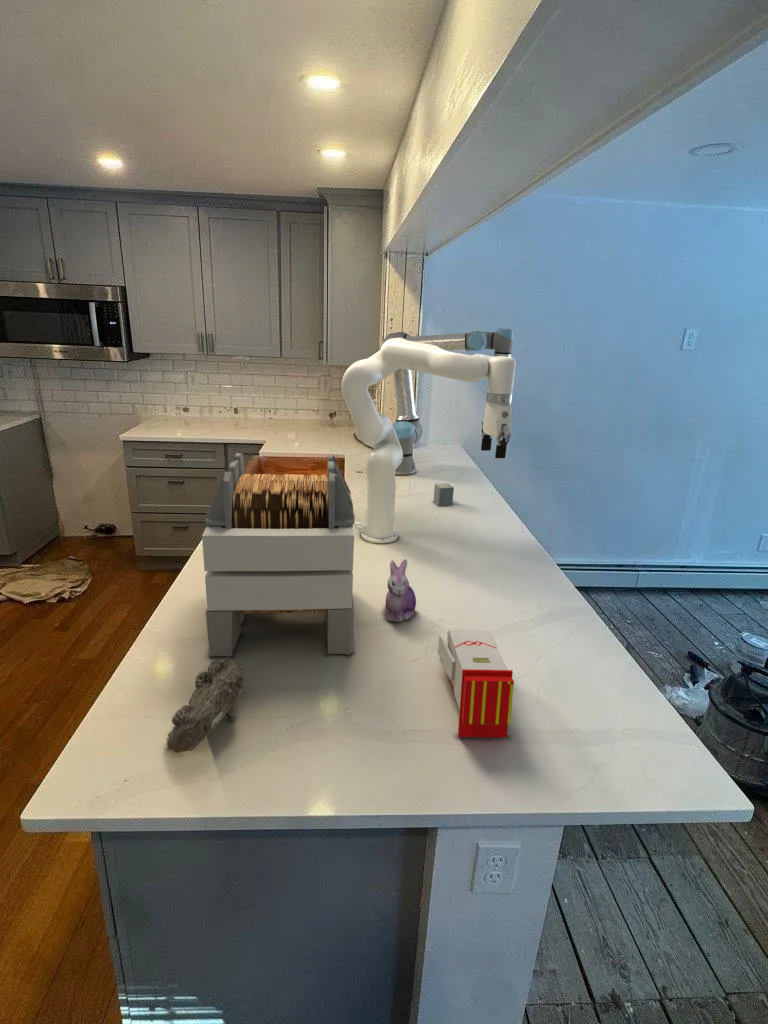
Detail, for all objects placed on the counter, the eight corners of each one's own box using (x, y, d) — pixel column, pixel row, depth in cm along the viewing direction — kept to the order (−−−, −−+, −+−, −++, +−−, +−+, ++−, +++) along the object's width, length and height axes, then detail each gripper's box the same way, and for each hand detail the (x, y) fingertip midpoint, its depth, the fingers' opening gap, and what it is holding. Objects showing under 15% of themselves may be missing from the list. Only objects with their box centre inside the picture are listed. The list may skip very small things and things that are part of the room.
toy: (488, 613, 130) (523, 677, 101) (484, 667, 133) (517, 744, 104) (435, 612, 130) (455, 676, 101) (432, 666, 133) (451, 743, 103)
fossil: (192, 660, 117) (244, 628, 112) (224, 691, 120) (276, 661, 115) (142, 746, 98) (202, 712, 93) (182, 779, 101) (242, 748, 96)
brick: (452, 505, 231) (453, 487, 229) (438, 506, 230) (440, 488, 227) (446, 501, 237) (448, 483, 234) (433, 501, 235) (434, 484, 232)
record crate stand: (228, 587, 157) (220, 443, 143) (347, 586, 161) (350, 445, 147) (206, 659, 125) (193, 482, 111) (354, 655, 129) (359, 484, 115)
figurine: (392, 627, 141) (395, 572, 136) (374, 608, 149) (376, 556, 144) (425, 619, 145) (429, 566, 140) (405, 601, 154) (408, 550, 149)
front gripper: (524, 403, 164) (517, 460, 170) (496, 394, 180) (491, 447, 186) (501, 403, 162) (494, 461, 168) (475, 394, 178) (470, 447, 184)
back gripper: (522, 366, 250) (516, 414, 257) (496, 361, 272) (492, 405, 279) (507, 366, 248) (501, 414, 255) (482, 360, 270) (478, 405, 277)
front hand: (492, 454), depth 177 cm, fingers open, 9 cm apart
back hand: (496, 409), depth 267 cm, fingers open, 13 cm apart
